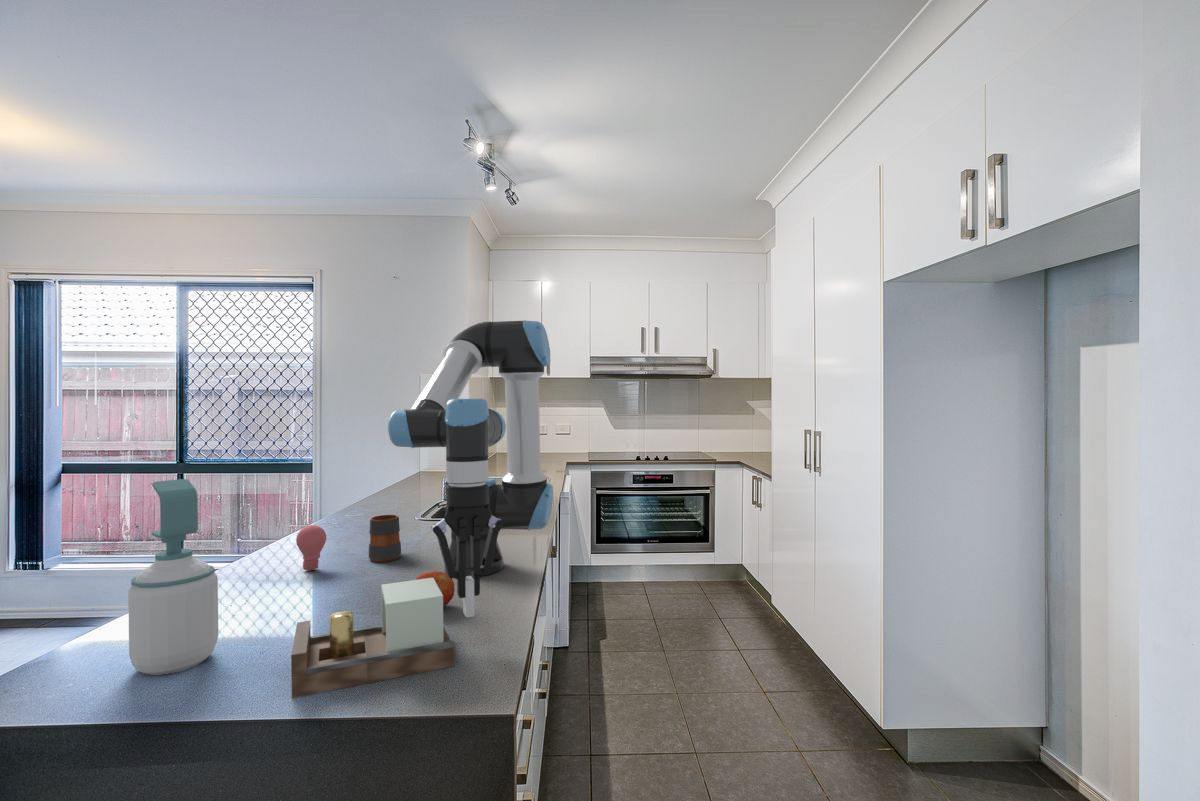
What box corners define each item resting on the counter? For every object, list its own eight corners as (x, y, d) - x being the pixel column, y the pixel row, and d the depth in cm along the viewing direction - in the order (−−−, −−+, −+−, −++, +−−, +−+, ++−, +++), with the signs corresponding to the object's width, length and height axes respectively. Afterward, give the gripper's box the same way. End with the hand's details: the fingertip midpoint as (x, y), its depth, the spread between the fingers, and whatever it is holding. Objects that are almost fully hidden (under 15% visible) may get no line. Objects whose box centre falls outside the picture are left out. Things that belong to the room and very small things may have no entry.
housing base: (440, 634, 109) (440, 600, 109) (454, 665, 96) (453, 626, 96) (297, 660, 99) (297, 622, 99) (291, 698, 86) (291, 655, 86)
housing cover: (433, 622, 107) (433, 577, 107) (443, 644, 97) (442, 595, 97) (382, 630, 103) (381, 584, 103) (386, 655, 93) (386, 604, 93)
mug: (407, 551, 170) (407, 511, 170) (396, 562, 158) (395, 520, 158) (378, 552, 170) (377, 512, 170) (364, 563, 158) (363, 521, 158)
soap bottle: (205, 641, 107) (203, 474, 107) (229, 660, 99) (227, 479, 99) (120, 666, 97) (117, 482, 97) (139, 689, 89) (136, 489, 89)
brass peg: (353, 656, 98) (353, 609, 98) (353, 665, 94) (353, 616, 94) (330, 660, 96) (329, 613, 96) (329, 670, 93) (329, 620, 93)
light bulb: (332, 569, 153) (331, 524, 153) (306, 576, 147) (305, 529, 147) (316, 565, 156) (316, 521, 156) (290, 572, 150) (290, 526, 150)
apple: (412, 605, 125) (412, 568, 125) (452, 599, 128) (451, 564, 128) (414, 617, 118) (413, 578, 118) (456, 612, 120) (455, 574, 120)
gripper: (497, 479, 110) (498, 602, 110) (427, 483, 105) (428, 613, 104) (508, 483, 103) (509, 615, 103) (433, 488, 98) (434, 627, 98)
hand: (468, 614), depth 104 cm, fingers closed
